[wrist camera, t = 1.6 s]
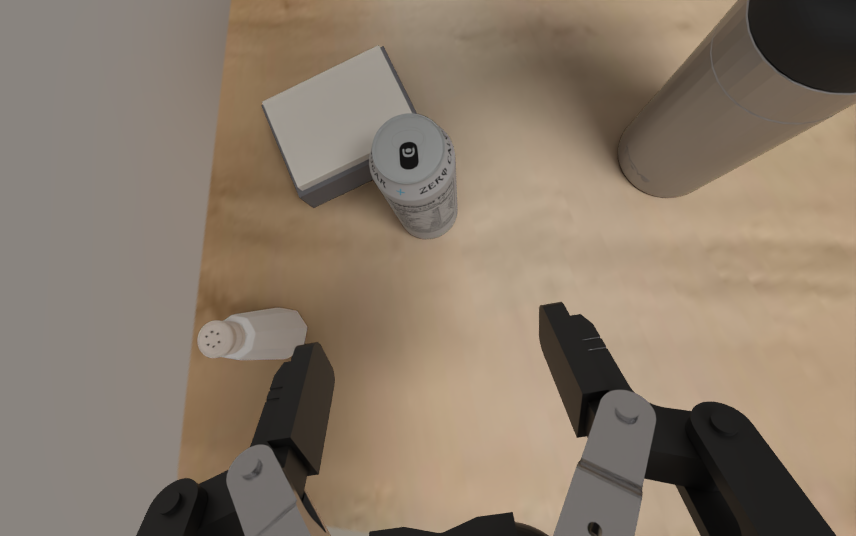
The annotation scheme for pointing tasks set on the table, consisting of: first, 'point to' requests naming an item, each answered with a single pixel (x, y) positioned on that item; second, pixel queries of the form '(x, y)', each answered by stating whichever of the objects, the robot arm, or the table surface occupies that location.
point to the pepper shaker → (254, 335)
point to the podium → (335, 123)
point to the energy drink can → (416, 173)
